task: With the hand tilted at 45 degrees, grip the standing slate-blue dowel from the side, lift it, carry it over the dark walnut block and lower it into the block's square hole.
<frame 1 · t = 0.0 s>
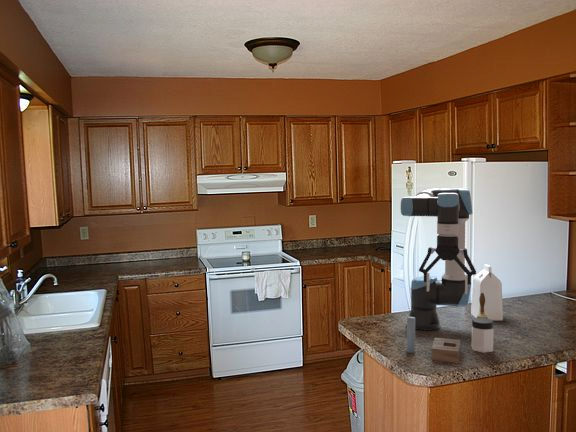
hand: (446, 292, 194), 28 cm above the countertop, tool pointing down, fingers open, 13 cm apart
milk: (486, 317, 260), on the countertop
hand bell: (482, 327, 244), on the countertop
peg: (410, 351, 211), on the countertop
jar: (482, 349, 213), on the countertop
hole block: (449, 355, 206), on the countertop
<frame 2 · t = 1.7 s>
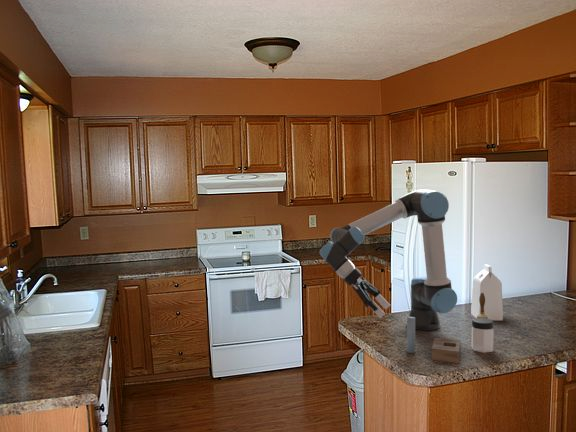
hand: (385, 311, 214), 16 cm above the countertop, tool tilted 45°, fingers open, 13 cm apart
nothing on the countertop moved.
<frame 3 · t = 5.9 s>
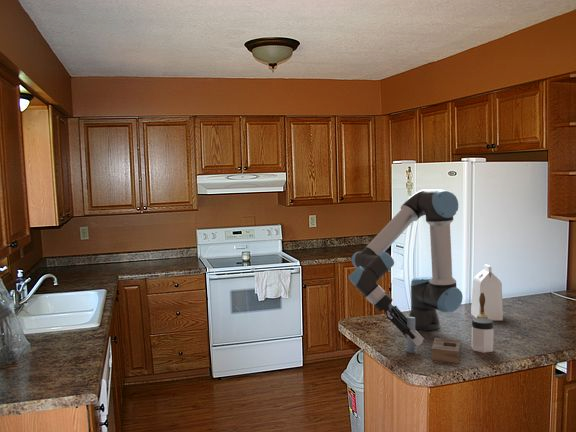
hand: (420, 342, 210), 4 cm above the countertop, tool tilted 45°, fingers closed on peg, 3 cm apart
peg: (410, 351, 211), on the countertop, touching gripper
everything else where it was.
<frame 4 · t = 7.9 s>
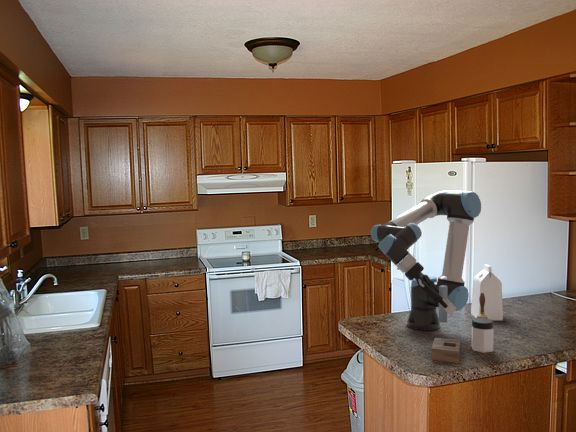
hand: (453, 311, 204), 18 cm above the countertop, tool tilted 45°, fingers closed on peg, 3 cm apart
peg: (442, 321, 205), point 14 cm above the countertop, touching gripper
everything else where it was.
when the fingers open (6 cm above the countertop, at t = 10.1 s): peg drops 2 cm, resting in hole block.
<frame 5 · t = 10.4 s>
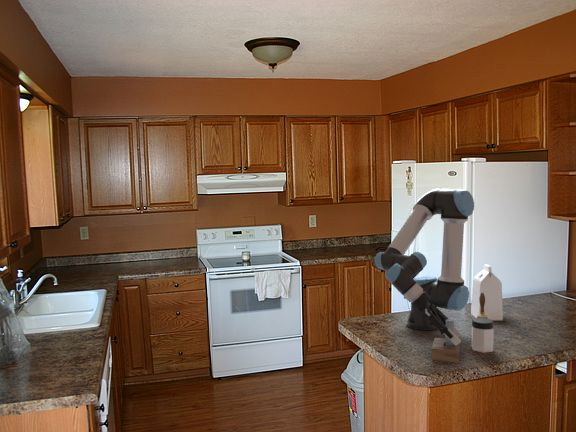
hand: (458, 340, 204), 7 cm above the countertop, tool tilted 45°, fingers open, 8 cm apart
peg: (449, 355, 206), resting in hole block
everything else where it was.
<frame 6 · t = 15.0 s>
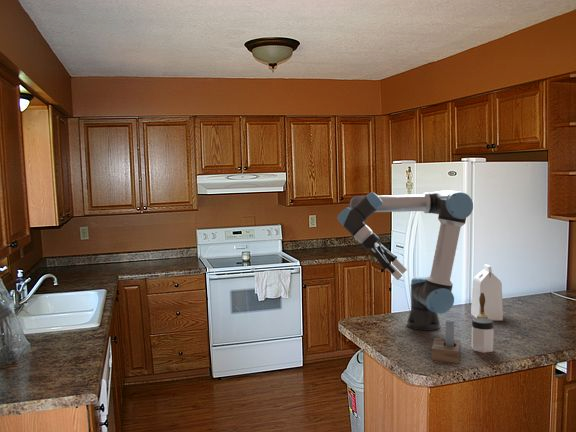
hand: (402, 274, 218), 30 cm above the countertop, tool tilted 45°, fingers open, 13 cm apart
nothing on the countertop moved.
at the end: peg 0.1 cm off-centre on the hole block, point 0.0 cm above the hole block's base; peg tilted 0°; the gripper is holding nothing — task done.
